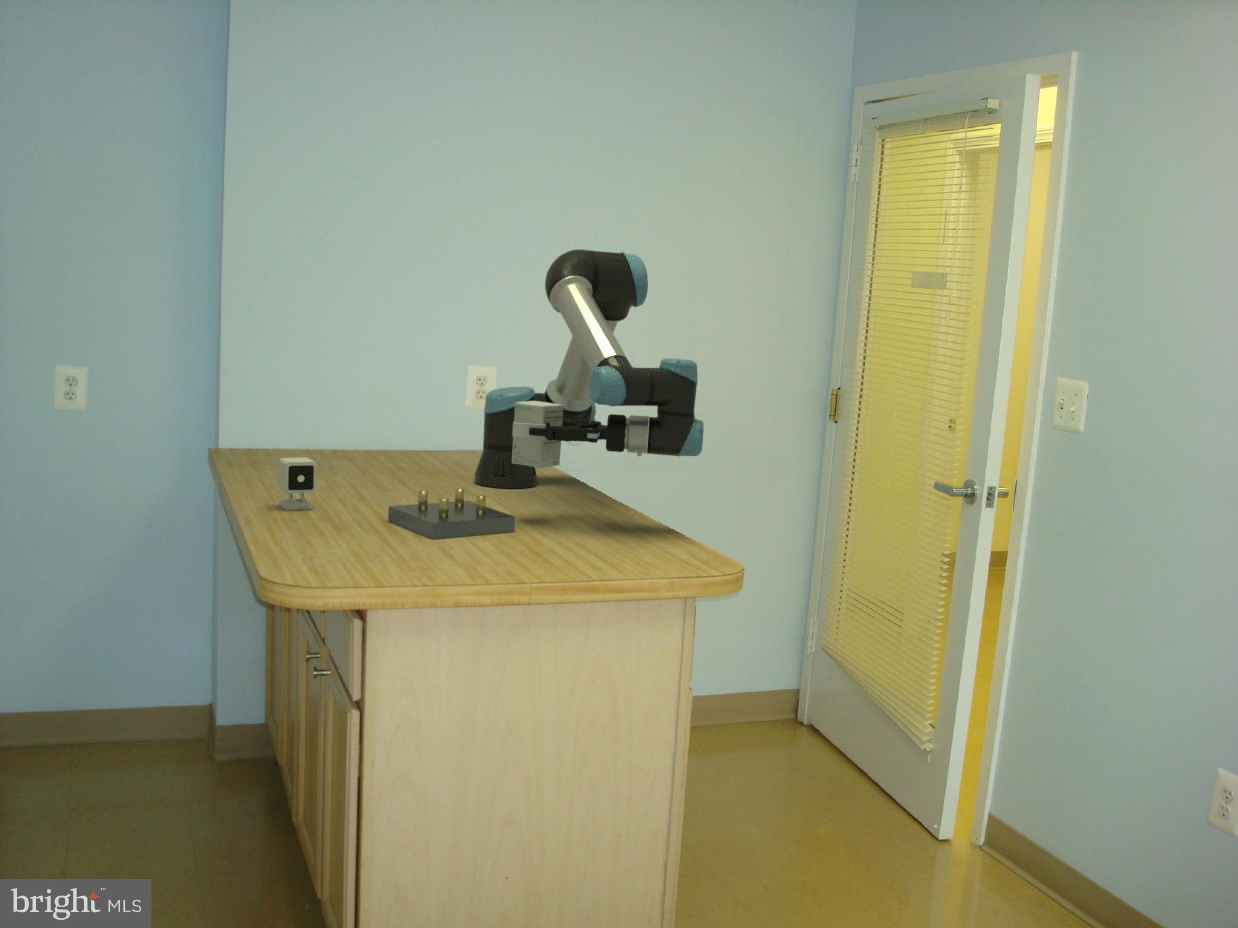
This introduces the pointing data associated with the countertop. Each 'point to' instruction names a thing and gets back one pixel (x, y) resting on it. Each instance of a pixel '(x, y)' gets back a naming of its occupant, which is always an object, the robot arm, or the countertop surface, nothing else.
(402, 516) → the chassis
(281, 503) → the security camera
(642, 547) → the countertop surface
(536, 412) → the supplement box
